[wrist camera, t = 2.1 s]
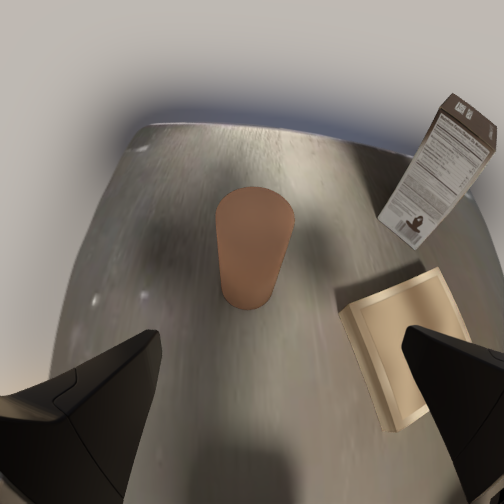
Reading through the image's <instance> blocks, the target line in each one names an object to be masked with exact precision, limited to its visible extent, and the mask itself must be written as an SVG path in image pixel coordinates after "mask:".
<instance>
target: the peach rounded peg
mask: <svg viewBox="0 0 504 504" xmlns="http://www.w3.org/2000/svg"><path fill="white" fill-rule="evenodd" d="M294 222H295V218H294V212H293V210H292V208H291V206H290V204H289V203H288V202H287V201H286V200H285V199H284V198H283V197H282V196H281V195H279V194H278V193H276V192H274V191H272V190H269V189H266V188H261V187H244V188H240V189H237V190H235V191H232V192H231V193H229V194H227V195H226V196H225V197H224V198H223V199H222V200H221V202H220V203H219V205H218V207H217V210H216V231H217V243H218V255H219V267H220V278H221V288H222V293H223V295H224V297H225V299H226V300H227V301H228V302H229V303H230V304H231V305H233V306H234V307H237V308H239V309H244V310H252V309H256V308H259V307H261V306H263V305H264V304H265V303H266V302H267V301H268V300H269V299H270V297H271V295H272V292H273V289H274V286H275V283H276V280H277V277H278V274H279V271H280V268H281V265H282V262H283V259H284V256H285V253H286V249H287V246H288V243H289V240H290V237H291V234H292V231H293V227H294Z"/></svg>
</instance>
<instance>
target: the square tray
mask: <svg viewBox="0 0 504 504" xmlns="http://www.w3.org/2000/svg"><path fill="white" fill-rule="evenodd" d="M338 314H339V316H340V319H341V321H342V324H343V326H344V328H345V331H346V333H347V336H348V338H349V341H350V343H351V346H352V348H353V351H354V353H355V356H356V359H357V361H358V364H359V366H360V369H361V372H362V374H363V377H364V380H365V382H366V385H367V388H368V391H369V393H370V396H371V399H372V402H373V405H374V407H375V410H376V413H377V416H378V419H379V422H380V425H381V428H382V431H385V432H399V431H400V430H402V429H404V428H405V427H407V426H408V425H410V424H411V423H413V422H414V421H415V420H417V419H418V418H420V417H421V416H423V415H424V414H425V413H427V412H428V411H429V408H428V406H427V404H426V402H425V400H424V398H423V396H422V394H421V392H420V391H419V389H418V387H417V385H416V383H415V381H414V379H413V376H412V374H411V371H410V369H409V366H408V364H407V362H406V359H405V357H404V354H403V352H402V349H401V344H402V341H403V337H404V334H405V331H406V328H407V327H408V326H410V325H419V326H422V327H425V328H428V329H431V330H434V331H437V332H440V333H443V334H446V335H449V336H452V337H455V338H458V339H461V340H464V341H467V342H470V343H472V341H471V339H470V336H469V333H468V331H467V328H466V326H465V323H464V321H463V319H462V316H461V314H460V312H459V309H458V307H457V305H456V303H455V300H454V298H453V296H452V294H451V292H450V290H449V288H448V286H447V284H446V282H445V280H444V278H443V276H442V274H441V272H440V270H439V268H438V267H437V268H434V269H432V270H430V271H428V272H426V273H423V274H421V275H419V276H417V277H414V278H412V279H410V280H407V281H405V282H403V283H400V284H398V285H396V286H393V287H391V288H388V289H386V290H383V291H381V292H378V293H376V294H373V295H371V296H368V297H366V298H363V299H360V300H358V301H355V302H353V303H350V304H348V305H347V306H346V307H345V308H344V309H343V310H342V311H341V312H340V313H338Z"/></svg>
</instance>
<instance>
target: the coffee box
mask: <svg viewBox="0 0 504 504" xmlns="http://www.w3.org/2000/svg"><path fill="white" fill-rule="evenodd" d="M496 139H497V126H495V125H494V124H493V123H492V122H491V121H489V120H488V119H487V118H486V117H484V116H483V115H482V114H481V113H479V112H478V111H477V110H475V108H473V107H472V106H470V105H469V104H468V103H466V102H465V101H463V100H462V99H461V98H459V97H458V96H457V95H455V94H453V93H452V94H451V95H450V96H449V97H448V98H447V99H446V101H445V102H444V103H443V104H442V105H441V106H440V107H439V110H438V112H437V114H436V116H435V118H434V120H433V122H432V124H431V126H430V128H429V129H428V132H427V133H426V135H425V137H424V139H423V141H422V143H421V145H420V146H419V148H418V150H417V152H416V154H415V156H414V157H413V159H412V161H411V163H410V164H409V166H408V168H407V170H406V171H405V173H404V175H403V177H402V178H401V180H400V182H399V183H398V185H397V187H396V188H395V190H394V192H393V193H392V195H391V197H390V198H389V200H388V201H387V203H386V205H385V206H384V208H383V209H382V211H381V213H380V214H379V216H378V220H379V221H381V222H382V223H383V224H384V225H386V226H387V227H388V228H389V229H391V230H392V231H393V232H394V233H395V234H397V235H398V236H399V237H400V238H401V239H403V240H404V241H405V242H406V243H407V244H408V245H410V246H411V247H412V248H413V249H414V250H416V249H417V248H418V247H419V246H420V245H421V244H422V243H423V242H424V241H425V240H426V239H427V238H428V236H429V235H430V234H431V233H432V232H433V231H434V230H435V229H436V227H437V226H438V225H439V224H440V223H441V222H442V221H443V219H444V218H445V217H446V216H447V215H448V214H449V213H450V211H451V210H452V209H453V208H454V207H455V205H456V204H457V203H458V202H459V201H460V199H461V198H462V197H463V196H464V194H465V193H466V192H467V191H468V189H469V188H470V187H471V185H472V184H473V183H474V182H475V180H476V179H477V178H478V176H479V175H480V174H481V172H482V171H483V170H484V168H485V167H486V165H487V164H488V162H489V161H490V160H491V158H492V157H493V155H494V154H495V152H496V141H497V140H496Z"/></svg>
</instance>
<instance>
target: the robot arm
mask: <svg viewBox="0 0 504 504" xmlns="http://www.w3.org/2000/svg"><path fill="white" fill-rule="evenodd" d="M401 349H402V352H403V354H404V357H405V359H406V362H407V364H408V366H409V369H410V371H411V374H412V376H413V379H414V381H415V383H416V385H417V387H418V389H419V391H420V392H421V394H422V396H423V398H424V400H425V402H426V404H427V406H428V408H429V410H430V413H431V415H432V417H433V419H434V421H435V423H436V425H437V427H438V429H439V432H440V434H441V436H442V438H443V441H444V443H445V445H446V447H447V450H448V452H449V454H450V457H451V459H452V461H453V465H454V467H455V470H456V472H457V475H458V477H459V480H460V483H461V485H462V488H463V491H464V494H465V497H466V500H467V502H468V504H471V503H472V502H474V501H475V500H476V499H478V498H479V497H481V496H482V495H483V494H485V493H486V492H487V491H489V490H490V489H491V488H493V487H494V486H495V485H496V484H498V483H499V482H500V481H501V480H503V479H504V353H501V352H498V351H494V350H491V349H487V348H485V347H482V346H479V345H476V344H473V343H470V342H467V341H464V340H461V339H458V338H455V337H452V336H449V335H446V334H443V333H440V332H437V331H434V330H431V329H428V328H425V327H422V326H419V325H410V326H408V327H407V328H406V331H405V334H404V337H403V341H402V344H401ZM161 359H162V347H161V340H160V334H159V331H157V330H149V329H148V330H145V331H143V332H141V333H139V334H137V335H136V336H134V337H132V338H130V339H128V340H126V341H124V342H122V343H121V344H119V345H117V346H115V347H113V348H111V349H109V350H107V351H105V352H104V353H102V354H100V355H98V356H96V357H94V358H92V359H90V360H88V361H86V362H84V363H82V364H81V365H79V366H77V367H76V368H73V369H71V370H69V371H67V372H65V373H63V374H61V375H59V376H57V377H55V378H52V379H50V380H47V381H45V382H43V383H40V384H38V385H35V386H33V387H30V388H27V389H25V390H22V391H19V392H17V393H14V394H11V395H7V396H0V504H123V501H124V500H123V499H124V496H125V492H126V489H127V485H128V481H129V477H130V474H131V470H132V467H133V463H134V459H135V456H136V453H137V449H138V446H139V442H140V439H141V436H142V432H143V429H144V426H145V423H146V419H147V416H148V413H149V410H150V407H151V404H152V401H153V397H154V394H155V390H156V385H157V380H158V374H159V369H160V364H161ZM490 504H504V488H503V489H502V490H500V491H499V492H498V493H497V494H496V495H495V496H494V497H492V498H491V501H490Z"/></svg>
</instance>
